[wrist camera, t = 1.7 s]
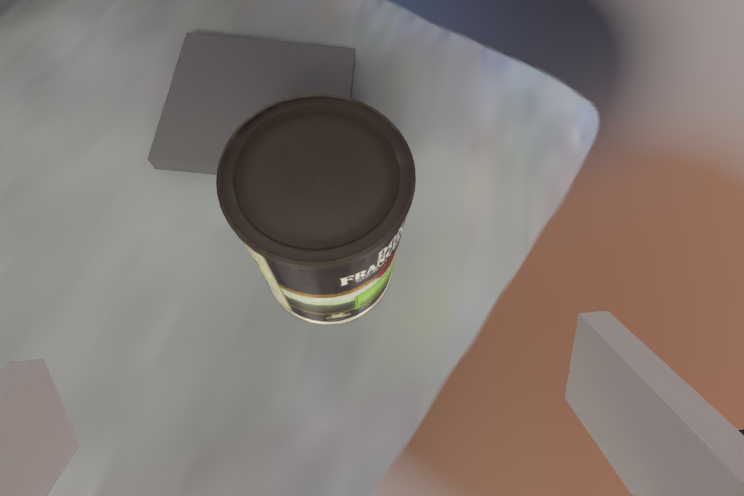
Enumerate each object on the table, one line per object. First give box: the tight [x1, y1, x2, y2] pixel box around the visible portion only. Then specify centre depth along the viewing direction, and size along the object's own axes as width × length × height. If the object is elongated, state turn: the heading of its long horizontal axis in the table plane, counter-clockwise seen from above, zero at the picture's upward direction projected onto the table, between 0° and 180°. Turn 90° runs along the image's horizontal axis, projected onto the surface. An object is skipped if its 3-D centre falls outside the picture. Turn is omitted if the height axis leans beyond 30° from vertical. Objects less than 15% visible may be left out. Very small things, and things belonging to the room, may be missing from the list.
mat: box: [148, 33, 355, 174], centre depth 40 cm, size 16×14×2 cm
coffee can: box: [216, 94, 416, 325], centre depth 30 cm, size 10×10×14 cm
